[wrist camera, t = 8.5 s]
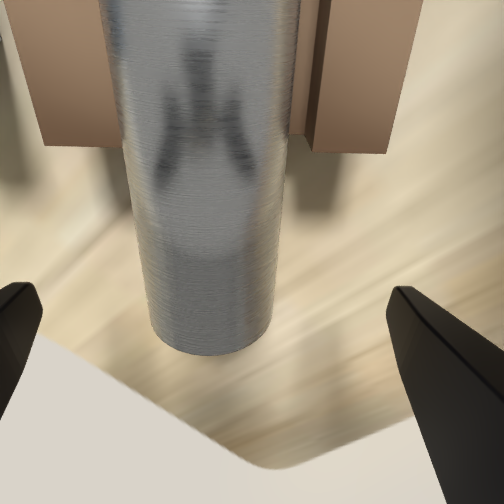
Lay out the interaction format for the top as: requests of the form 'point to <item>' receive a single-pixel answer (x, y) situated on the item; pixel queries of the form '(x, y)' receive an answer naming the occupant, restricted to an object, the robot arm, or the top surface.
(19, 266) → the top surface
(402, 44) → the beam
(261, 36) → the axle
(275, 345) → the top surface
